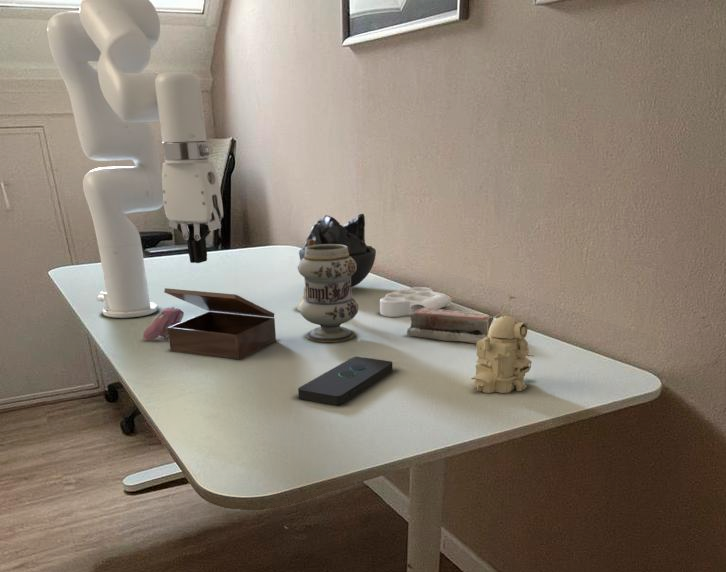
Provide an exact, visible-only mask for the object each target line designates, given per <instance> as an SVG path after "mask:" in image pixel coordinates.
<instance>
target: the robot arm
mask: <svg viewBox="0 0 726 572" xmlns="http://www.w3.org/2000/svg"><path fill="white" fill-rule="evenodd" d="M46 30H47V40H48V45H49V51H50V54H51V56H52V59H53V62H54V64H55V66H56V68H57V70H58V73H59V74H60V76H61V78H62V80H63V83H64V84H65V87H66V89H67V94H68V96H69V100H70V106H71V109H72V114H73V118H74V119H73V120H74V123H75V127H76V132H77V136H78V139H79V143H80V146H81V149H82V150H81V151H82V152H83V154H84V155H85V156H86V157H87V158H88V159H89V160H92V161H97V162H110V161H111V162H112V161H132V162H133V163H134V165H133V166H132V165H131V166H106V167H105V166H104V167H97V168H94V169H91V170H89V171H88V172H87V173H85V174H84V177H83V179H82V189H83V194H84V197H85V200H86V203H87V206H88V209H89V212H90V215H91V219H92V222H93V227H94V232H95V237H96V243H97V247H98V253H99V259H100V265H101V270H102V276H103V281H104V288H105V291H100V292H99V294H98V295H97V296H96V300H97V302H102V303H103V302H104V306H103V308H102V314H103V315H104V316H106V317H109V318H116V319H128V318H139V317H144V316H148V315H149V316H150V315H151V314H154V313H156V312H157V311H158V310H159V308H158V304H157V303H155V302H152V301H151V299H150V293H149V286H148V279H147V271H146V267H145V261H144V260H145V257H144V253H143V245H142V239H141V235H140V232H139V230H138V228H137V227H136V225H135V224H134V223H133V222H132V221H131V220H130V219H129V218H128V216H127V214H131V213H140V212H141V213H142V212H151V211H157V210H160V209H161V208H162V207H163V208H164V214H165V217H166V218H167V220H168V226H169V227H170V228H172V229H174V230H178V232H180V233H181V235H182V237H183V239H184V240H185V241H186V243H187V251H188V256H189V262H190V263H191V264H200V263H204V262H207V260H208V250H207V240H206V239H208V238H209V235H210V234H211V232H212V231H215V230H218V229H221V228H222V224H221V221H220V220H222V219H223V218H224V205H223V199H222V194H221V192H222V191H221V187H220V181H219V179H218V173H217V171H216V168H215V164H214V162H213V161H209V158H210V157H209V155H210V156H211V155H213V153H214V151H213V147H212V146H210V145H208V142H207V134H206V133H207V132H206V123H205V122H206V121H205V113H204V105H203V95H202V94H203V93H202V85H201V81H200V79H199V77H198V75H196V74H195V73H194V72H188V71H166V72H160V73H155V72H152V73H151V72H143V71H144V70H145V69H146V68H147V67H148V65H149V63H150V60H151V52H152V51H151V50H152V49H153V48H154V47H155V45H156V44H157V43H158V41H159V38H160V33H161V21H160V17H159V14H158V11H157V9H156V7H155V6H154V4H153V3H152V1H150V0H81V2H80V4H79V10H78V11H63V12H58V13H55V14H54V15H52V16H51V17H50V19H49V20H48V23H47V28H46ZM89 62H97V69H96V68H95V67H93V66H92V65H91V64H90V63H89ZM156 122H157V123H159V126H160V135H161V141H162V150H163V156H164V162H162V165H161V161H160V156H159V155H160V154H159V150H158V145H157V140H156V136H155V132H154V128H153V126H152V125H151V123H156ZM161 166H162V167H161Z"/></svg>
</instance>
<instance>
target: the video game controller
mask: <svg viewBox="0 0 726 572" xmlns="http://www.w3.org/2000/svg"><path fill="white" fill-rule="evenodd" d="M184 312H185V311H183V310H181V309H180V308H178V307H177V308H175V307H174V306H172V307H166V308H164V309H162V310H161V312H160V313H159V314H158V315H157V316H156V317H155V319H153V321H152V322H151V323H150V325H149V326H147V327H146V328H145V329H144V330H143V333H142V337H143V340H145V341H146V342H148V341H153V340H155V339H157V338H158V337H159V336H160V337H161V338H163V339H166V338H167V337H168V329H167V327H170V326H172V325H175V324H178V323H180V322H182V321H183V318H184V315H185V313H184Z"/></svg>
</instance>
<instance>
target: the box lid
mask: <svg viewBox="0 0 726 572" xmlns="http://www.w3.org/2000/svg"><path fill="white" fill-rule="evenodd" d="M164 293H165V294H167V295H170V296H171V297H174V298H177V299H179V300H181V301H184V302H186V303H188V304H191V305H193V306H195V307H198V308H200V309H202V310H205V311H206V312H208V311H210V312H221V313H231V314H241V315H251V316H261V317H271V318H275V313H274V312H273V311H271V310H268V309H267V308H264V307H262V306H260V305H258V304H256V303H255V302H252V301H249V300H248V299H245V298H244V297H242V296H240V295H238V294H233V293H224V292H223V293H222V292H221V293H220V292H212V291H211V292H210V291H201V290H200V291H199V290H187V289H180V288H179V289H177V288H168V287H167V288H165V287H164Z"/></svg>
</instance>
